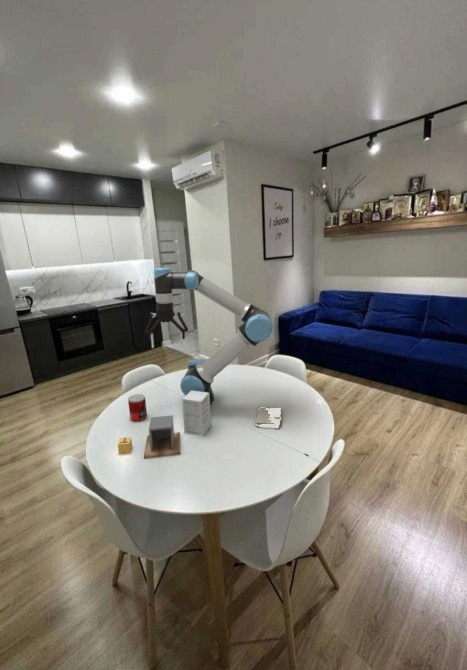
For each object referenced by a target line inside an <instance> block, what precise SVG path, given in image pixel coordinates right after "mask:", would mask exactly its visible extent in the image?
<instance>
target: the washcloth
mask: <svg viewBox="0 0 467 670" xmlns="http://www.w3.org/2000/svg"><path fill="white" fill-rule="evenodd" d="M259 407H260V409H259V411H258V410H257V413H256V418H255V425H256V424H257V425H261V424H274V423H271V420H268V419H269V418H270V417H269V416H270V414H268V410H265V409H266V408H261V407H262V406H259ZM275 418H276V419H277V420H278V419H280V417H274V419H275ZM270 419H271V418H270Z"/></svg>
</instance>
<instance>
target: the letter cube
mask: <svg viewBox="0 0 467 670" xmlns="http://www.w3.org/2000/svg"><path fill="white" fill-rule="evenodd" d="M117 447H118V449H117V450H118V455H122V454H131V452H132V448H133V441H132V436H127V437H126V436H125V437H119V439H118V442H117Z"/></svg>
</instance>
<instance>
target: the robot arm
mask: <svg viewBox="0 0 467 670" xmlns="http://www.w3.org/2000/svg"><path fill="white" fill-rule="evenodd" d="M153 281H154V291H155V292H154V293H155V302H156V304H155V305H156V306H155V307H156V313H155V312H154V313H153V312H150V314H149V319H148V322H147V324H146V326H145V328H144V331H143V333H144V334H147V335H148V341H149V342H150V343H151V349H154V347H155V344H154V343H155V342H154V333H153V331H154V330H155V329H156V328H157V327H158V325H159V324H160V322H161V323H163V324H164V323H170V322H171V324H173V325H174V326H176V328H177V329H178V330H179V331H180V347H184V345H183V343H184V342H183V341H184V340H185V339H186V335H185V333H186V332H189V327H188V326H187V324H186V322H185V321H184V319H183V317H182V314H181V312H180V311H178V312H175V311H174V302H173V299H174V297H173V290H194V291H196V292H198V293H199V294H201V295H202V296H204V297H206V298H207V299H209V300H211V301H212V302H214V303H215V304H218V305H219V306H221V307H222V308H224V309H226V310H227V311H228V312H231V313H232V314H234V315H235V316H237V317H238V318H239V320H240V321H242V322H243V323H242V324H241V325H239V326H238V329H237V332H236V333H235V334H234V335H233V336H232V337H231V338H230V339H229V340H227V341H226V342H225V343H224V344H223V345H222V346H221V347H220V348H218V349H217V350H216V351H215V352H214V353H212V355H211V356H210V357H208V358H207V359H206V358H204V359H203V358H195V359H190V360H189V361H188V362H187V371H186V373H185V374H184V375H183V377H182V379H181V381H180V384H179V385H180V390H181V392H182V394H183V395H184V396H186V395H187V394H188V393H189V392H190V391H191V390H192V391H200V392H207V393H209V396H210V405H212V404H213V403H214V402H215V394H214V391H213V389H212V387H211V386H212V384H213V383H214V379H215V377H216V376H217V375H218V374H220V373H221V372H222V371H223V370H224V369H225V368H227V367H228V366H229V365H230V364H231V363H232V362H234V361H235V359H237V358H238V357H240V355H242V354H243V353H244V352H245V351H247V349H249V347H253V348H254V347H256V346H257V345H259V344H260V343H262V342H264V341H266V340H268V339H269V338H270V337H271V334H272V332H273V321H272V319H271V316H270V315H269V313H268V312H267V311H265V310H263V309H261V308H260V307H258V306H256V305H254V304H252V303H251V302H250V303H246V302H245V301H244V300H242V299H240V298H238V297H236V296H235V295H234V294H232V293H230V292H229V291H227V290H225V289H224V288H222V287H220V286H219V285H217V284H216V283H214V282H212V281H210V280H209V279H207V278H206V277H204V276H202V275H200V274H199V272H197V271H196V270H194V269H193V270H187V271H184V272H183V271H181V272H178V271H177V272H174V271H172V269H171V268H170V267H156V268H155V269H154V270H153ZM175 316H176V317H177V318H178V320H179V322H180V323H181V325H182V326H181V325H180V324H179V323H178V322H177V321H176V320H175V318H174V317H175ZM154 318H156V319H157V320H156V322H155V323H154V324H153V325H152V326H151V324H152V321H153V319H154ZM150 326H151V328H150ZM149 328H150V330H149ZM213 401H214V402H213ZM212 402H213V403H212Z"/></svg>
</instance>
